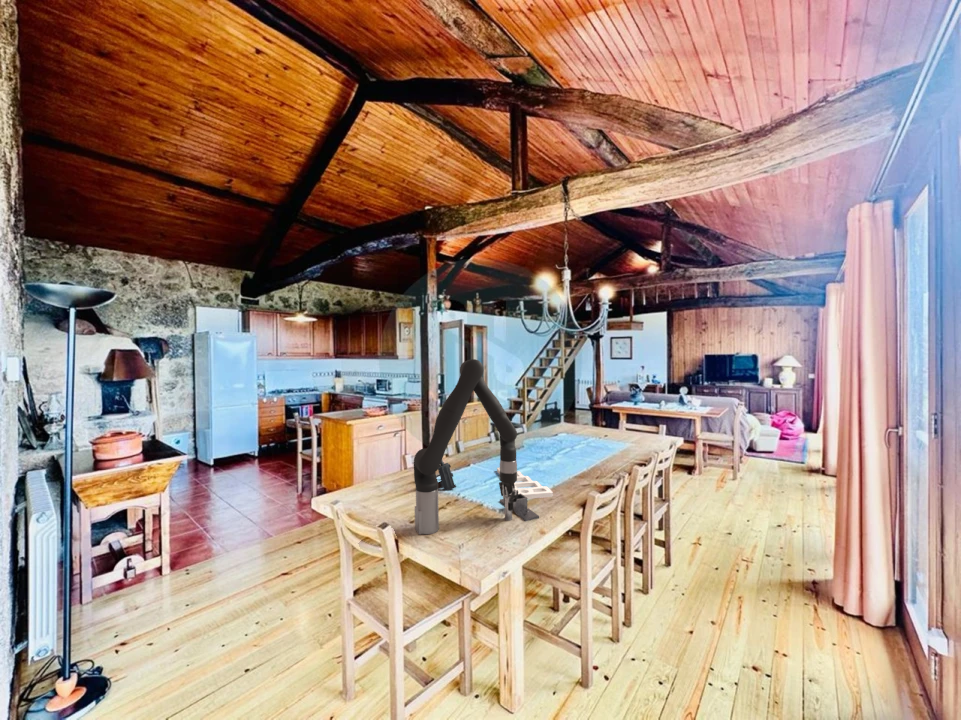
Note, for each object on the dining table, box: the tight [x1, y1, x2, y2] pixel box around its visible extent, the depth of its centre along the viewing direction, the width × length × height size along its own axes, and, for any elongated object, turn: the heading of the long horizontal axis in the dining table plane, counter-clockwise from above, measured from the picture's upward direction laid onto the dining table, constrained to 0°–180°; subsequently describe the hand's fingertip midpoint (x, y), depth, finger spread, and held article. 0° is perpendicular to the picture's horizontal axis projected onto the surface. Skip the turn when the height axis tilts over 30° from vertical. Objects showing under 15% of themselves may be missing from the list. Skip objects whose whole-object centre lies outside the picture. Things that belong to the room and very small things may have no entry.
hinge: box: [499, 494, 540, 522], centre depth 188 cm, size 7×24×6 cm, turn 25°
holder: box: [496, 467, 554, 500], centre depth 224 cm, size 45×18×3 cm, turn 11°
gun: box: [436, 460, 457, 492], centre depth 213 cm, size 3×17×15 cm
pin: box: [504, 494, 513, 522], centre depth 178 cm, size 3×3×11 cm
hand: (508, 508), depth 178 cm, fingers closed on pin, 3 cm apart
